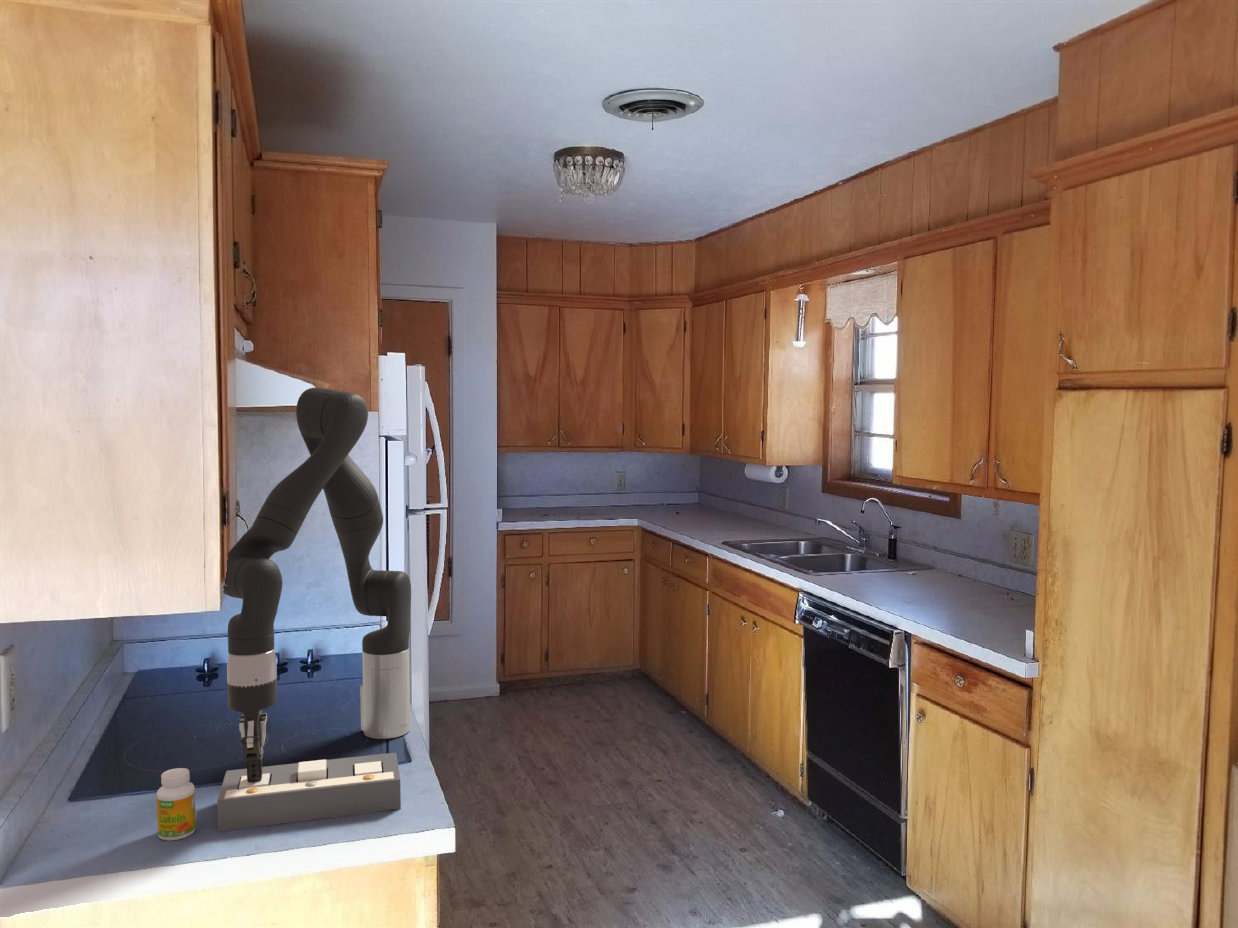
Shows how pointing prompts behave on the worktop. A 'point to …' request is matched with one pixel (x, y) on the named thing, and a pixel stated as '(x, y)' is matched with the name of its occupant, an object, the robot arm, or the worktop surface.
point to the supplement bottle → (176, 805)
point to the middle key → (312, 770)
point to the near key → (264, 782)
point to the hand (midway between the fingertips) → (254, 780)
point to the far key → (368, 768)
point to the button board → (309, 794)
